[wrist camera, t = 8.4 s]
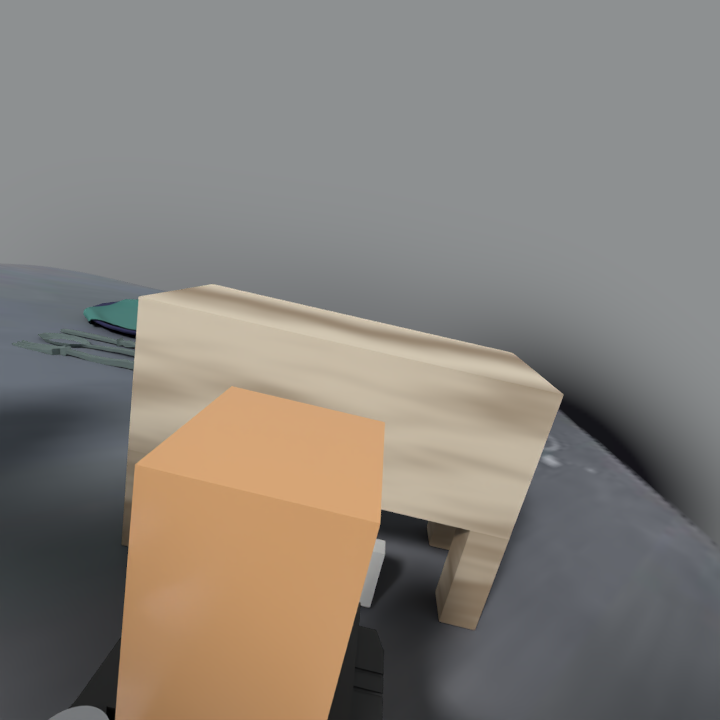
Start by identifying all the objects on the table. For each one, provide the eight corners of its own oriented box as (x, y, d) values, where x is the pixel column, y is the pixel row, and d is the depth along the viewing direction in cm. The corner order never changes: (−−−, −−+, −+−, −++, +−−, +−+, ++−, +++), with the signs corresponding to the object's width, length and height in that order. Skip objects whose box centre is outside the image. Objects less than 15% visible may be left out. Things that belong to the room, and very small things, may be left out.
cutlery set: (245, 329, 73) (246, 316, 73) (154, 383, 45) (155, 364, 44) (138, 306, 73) (139, 293, 73) (-22, 345, 45) (-23, 325, 44)
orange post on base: (323, 1320, 7) (677, 716, 3) (-105, 1196, 7) (-257, 483, 3) (370, 592, 23) (442, 335, 19) (232, 558, 23) (274, 297, 19)
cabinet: (474, 630, 22) (563, 394, 18) (121, 544, 22) (138, 296, 19) (450, 519, 31) (506, 347, 28) (200, 460, 32) (221, 282, 28)
